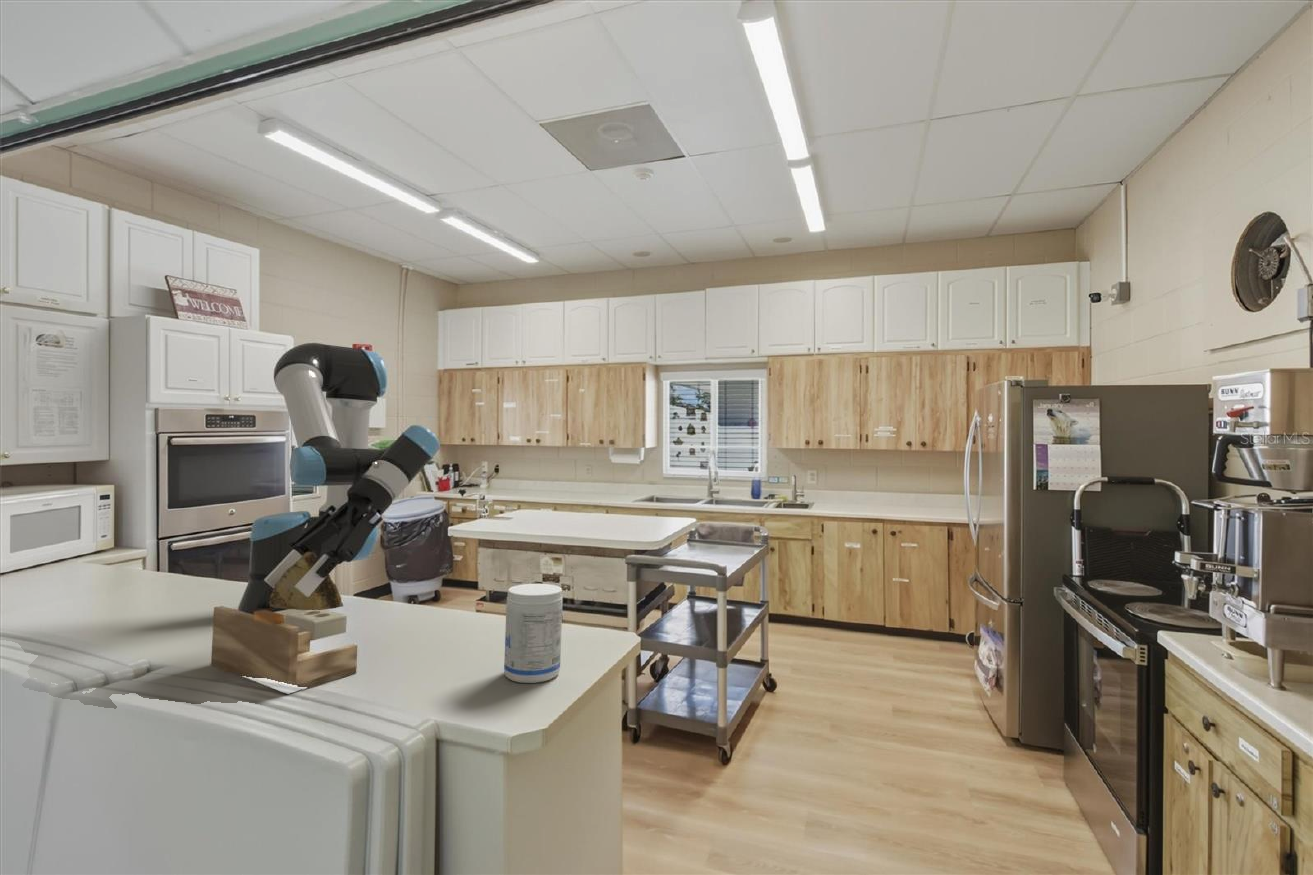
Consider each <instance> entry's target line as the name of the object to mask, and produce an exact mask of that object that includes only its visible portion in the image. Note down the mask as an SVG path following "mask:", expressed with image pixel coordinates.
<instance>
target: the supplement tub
mask: <svg viewBox="0 0 1313 875" xmlns="http://www.w3.org/2000/svg"><path fill="white" fill-rule="evenodd" d="M506 596H507V597H506V604H505V605H506V607H505V610H506V612H505V630H504V631H505V632H504V633H505V635H504V636H505V638H504V660H503V661H504V664H503V665H504V667H503V672H504V673H503V674H504V675H505V677H506V678H507V679H509V680H511V681H513V682H516V683H521V684H537V683H543V682H546V681H547V682H548V681H550V680H552V679H554V678H555V677H556V676H558V674H559V673H560V670H561V657H562V656H561V655H562V654H561V652H562V650H561V649H562V628H563V626H562V625H563V588H561V586H558V585H556V584H550V583H523V584H517V585H514V586H511V587H509V588H508V589H507V595H506Z"/></svg>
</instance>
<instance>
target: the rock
mask: <svg viewBox="0 0 1313 875" xmlns="http://www.w3.org/2000/svg"><path fill="white" fill-rule="evenodd" d="M318 560H319V559H318V558H317V556H316V554H315V553H311V552H306V553H305V554H304V555H303V556H302V557H301V558H300V559H299V560H298V561H297V562H296V563H295V564H294V565H293V566H291V567H290V568H289V569H287V570H286V571H285V572H284V574H283V575H282V577H281V578H280V580H279V581H278V582H277V583H276V584H275V586H274V590H273V592H272V594H271V595H270V607H274V608H283V609H296V610H332V609H337V608H340V607H341V608H343V607H344V603H343V601H342V596H341V594H340V592H339V589H338V587H337V584H336V583H334V582H333V580H332V579H331V578H332V577H331V575H330V573H329V574H328V576H327V577H326V578H325V579H324V580H323V581H322V582H321V583H320V584H319V586H318V587H317V588H316V589H315V590H314V591H313V592H312V593H311V595H310V596H309V597H307V596H305V595H304V594H303V593H301V592H300V591H299V590H298V589H297V588H296V587H294V586H295V585H296V584H297V583H298V582H299V581H300V580H301V579H302V578H303V577H304V575H305V574H306V573H307V572H308V571H309V570H310V569H311V568H312V567H313V566H314V565H315V563H316V562H317V561H318Z"/></svg>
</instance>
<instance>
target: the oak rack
mask: <svg viewBox="0 0 1313 875" xmlns="http://www.w3.org/2000/svg"><path fill="white" fill-rule="evenodd" d="M212 620H213V622H212V639H211V641H212V642H211V655H210V657H211V659H210V660H211V661H210V666H212V667H215V668H218V669H220V670H222V671H225V672H228V673H230V674H234V675H236V676H238V677H241V676H246V677H252V678H267V679H271V680H275V681H278V682H284V683H287V684H292V685H297V686H298V687H307V688H308V689H312V688H314V687H317V686H320V685H325V684H327V683H330V682H333V681H337V680H340V679H342V678H346V677H349V676H353V675H356V674H357V665H358V663H357V662H358V659H357V658H358V644H349V645H345V646H341V647H337V648H335V649H330V650H327V651H323V652H318V653H315V652H312V651H311V650H310V648H311V647H310V646H311V640H310V632H308V631H305V632H301V633H298V632H299V627H296V626H292V625H289V624H285V623H284V615H282V614H279V613H275V612H271V611H267V610H261V611H255V612H254V615H253V614H249V613H246V612H242V611H238V609H235V608H231V607H227V606H223V605H220V606H214V607H213V619H212Z"/></svg>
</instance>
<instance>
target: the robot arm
mask: <svg viewBox="0 0 1313 875" xmlns="http://www.w3.org/2000/svg"><path fill="white" fill-rule="evenodd" d="M273 381H274V384H275V388H276V390H277V391H278V392H279V393H280V394H281V395H282V396H283V398H284V402H285V405H286V409H287V412H288V416H289V419H290V423H291V427H292V430H293V434H294V437H295V441H296V445H297V447H295V448H294V449H293V450H292V451H291V454H290V460H289V473H290V479H291V481H292V482H293V483H294V484H295V485H298V486H313V487H321V486H323V487H324V486H325V487H326V486H327V490H326V502H324V504H323V505H321V506H320V507H319V509H318V515H317V516H312V515H311V513H310V511H307V510H298V511H289V512H282V513H281V512H280V513H275V514H269V515H263V516H262V517H259V518H257V519H255V520H254V521H253V523H252V524H251V531H250V537H249V542H250V548H249V549H250V550H249V551H250V553H249V567H248V568H249V569H248V570H249V571H248V582H247V585H246V587H245V590H244V592H243V595H242V596H241V599H240V601H239V604H238V606H237V610H238V611H242V612H246V613H249V614H253V615H254V612H255V611H261V610H267V611H271V612H277V611H282V610H288V609H283V608H274V607H270V595H271V594H272V592H273V590H274V586H275V584H276V583H277V582H278V581H279V580H280V578H281V577H282V575H283V574H284V572H285V571H286V570H287V569H289V568H290V567H291V566H293V565H294V564H295V563H296V562H297V561H298V560H299V559H300V558H301V557H302V556H303V555H304V554H305V553H306V552H311V553H315V554H316V556H317V558H318V559H319V560H318V561H317V562H316V563H315V565H314V566H313V567H312V568H311V569H310V570H309V571H308V572H307V573H306V574H305V575H304V577H303V578H302V579H301V580H300V581H299V582H298V583H297V584H296V585H295V586H294V587H296V588H297V589H298V590H299V591H300V592H301V593H303V594H304V595H305V596H307V597H309V596H310V595H311V593H312V592H313V591H314V590H315V589H316V588H317V587H318V586H319V584H320V583H321V582H322V581H323V580H324V579H325V578H326V577H327V576H328V574H329V575H330V574H331V572H332V571H333V570H334V569H335V568H336V567H337V566H338V565H341V564H343V563H345V562H346V563H351V562H354V561H356V562H357V561H362V560H365V559H367V558H369V557H370V555H371V554H372V552H373V551H374V549H375V547H376V544H377V540H378V535H379V526H378V525H379V524H380V523H381V522H382V521H383V517H382V515H383V514H384V513H385V512H386V510H388V508H389V507H391V505H392V504H393V501H396V500H397V499H398V497H399V496H400V495H401V494H402V493H403V492H404V491H405V489H406V488H407V487H408V486H409V485H410V483H411V482H412V480H414V478H415V477H416V476H417V475H418V474H419V473H420V472H421V471H422V470H423V469H424V468H425V467H426V465H427V464H428V463H429V462H431V460H433V459H434V456H435V455H436V453H437V452H438V451H439V450H440V446H441V444H440V440H439V438H438V437H437V436H436V434H435V433H433V431H431V430H430V429H429V428H427V427H425V426H422V425H420V424H413V425H411V426H409V427H408V428H406V430H404V431H403V432H401V434H400V436H399V437H397V439H396V440H395V441H393V442H392V443H391V444H389V445H388V446H387V447H385V449H383V448H381V449H379V448H368V447H369V445H368V444H369V431H370V430H369V428H370V415H371V414H370V413H371V409H372V408H373V407H374V406H375V405H377V404H378V398H381V397H382V396H384V395H385V394H386V388H387V385H388V374H387V368H386V364H385V362H384V360H383V357H382V356H381V354H379V353H377V351H376V352H375V351H372V350H367V349H363V348H355V347H348V346H347V347H346V346H339V345H331V344H324V343H318V342H306V343H303V344H299V345H296V346H294V347H292V348H290V349H289V350H287V351H285V353H283V354H282V356H281V357H280V358H279V359H278V360H277V362H276V364H275V367H274V370H273ZM324 393H325V395H324ZM328 404H329V405H330V406H331V412H330V410H329V406H328Z"/></svg>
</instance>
